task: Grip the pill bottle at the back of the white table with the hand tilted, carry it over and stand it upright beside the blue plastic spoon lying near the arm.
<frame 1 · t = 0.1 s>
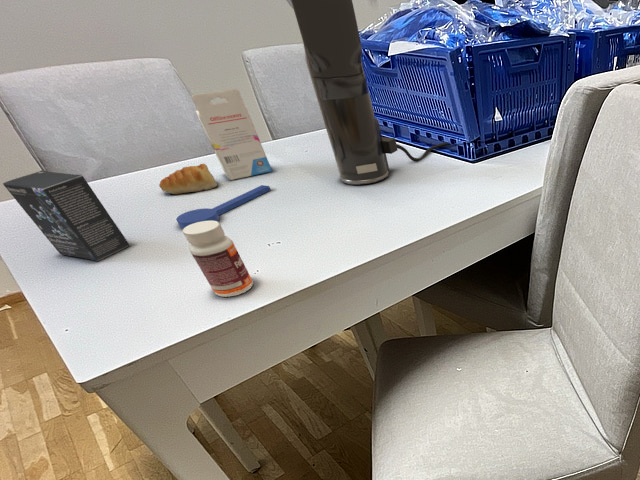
spoon: (227, 209, 80), on the table
pill bottle: (235, 289, 60), on the table
ink box: (249, 174, 94), on the table
box: (97, 251, 69), on the table
pastry: (196, 189, 88), on the table
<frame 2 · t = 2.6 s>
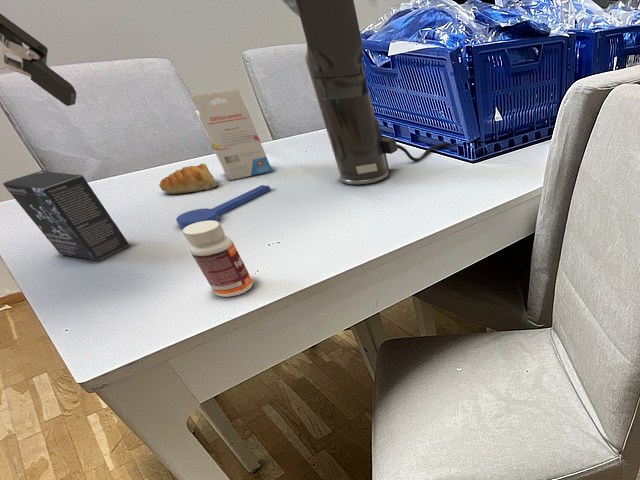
hand: (37, 107, 46), 21 cm above the table, tool tilted 45°, fingers open, 8 cm apart
nothing on the table moved.
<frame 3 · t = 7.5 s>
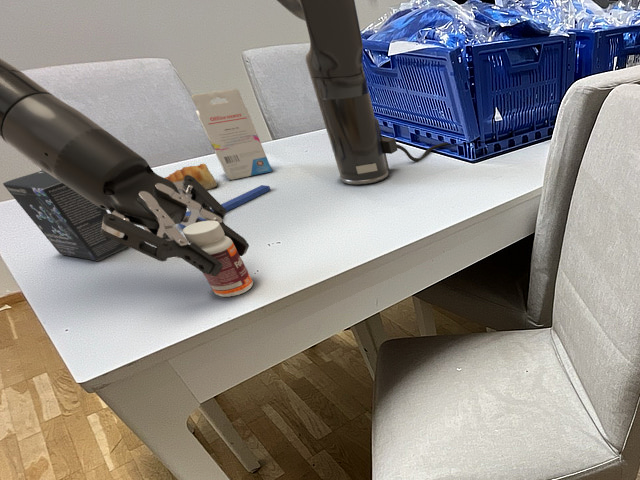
hand: (232, 260, 56), 4 cm above the table, tool tilted 45°, fingers closed on pill bottle, 4 cm apart
pill bottle: (235, 289, 60), on the table, touching gripper
everything else where it was.
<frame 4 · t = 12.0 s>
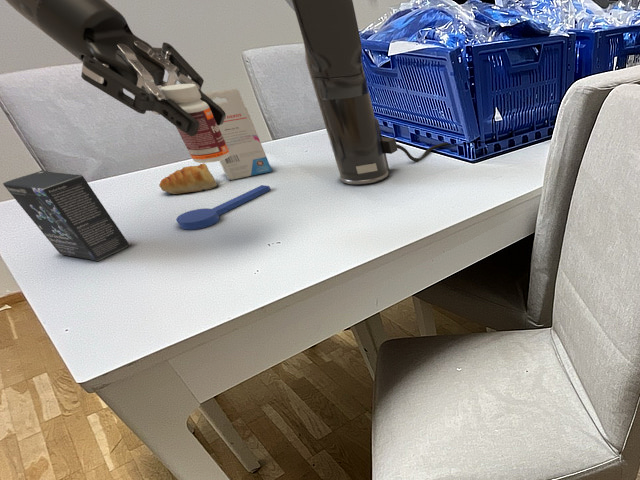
hand: (209, 124, 59), 16 cm above the table, tool tilted 45°, fingers closed on pill bottle, 4 cm apart
pill bottle: (213, 159, 62), point 12 cm above the table, touching gripper
everything else where it was.
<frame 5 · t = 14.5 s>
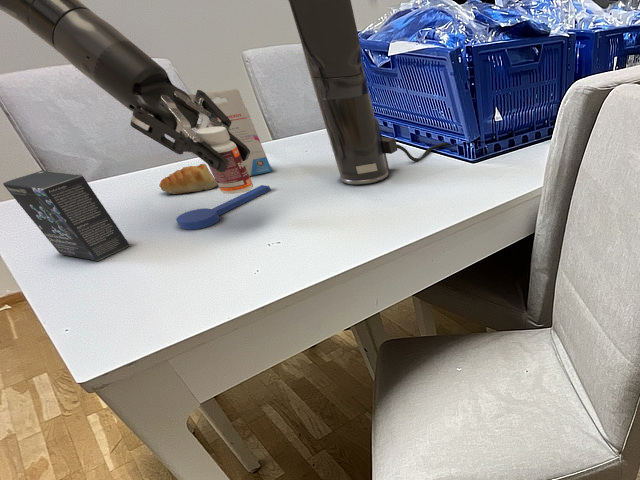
hand: (236, 161, 68), 10 cm above the table, tool tilted 45°, fingers closed on pill bottle, 4 cm apart
pill bottle: (238, 190, 71), point 5 cm above the table, touching gripper
everything else where it was.
when the fingers open (4 cm above the table, at t = 16.5 s): pill bottle stays where it is, on the table.
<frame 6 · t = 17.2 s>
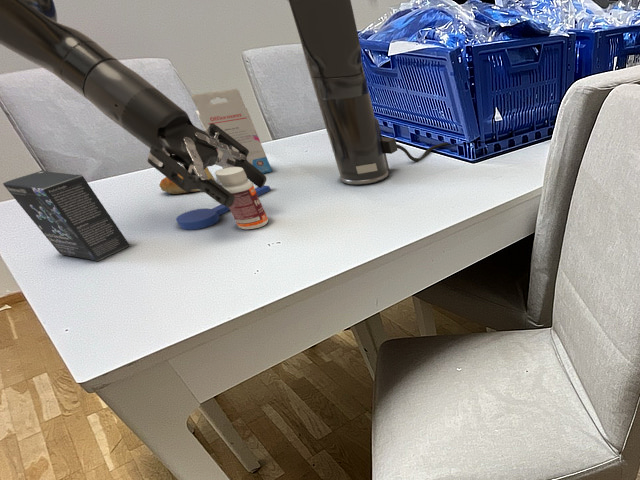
hand: (248, 192, 71), 5 cm above the table, tool tilted 45°, fingers open, 8 cm apart
pill bottle: (254, 225, 75), on the table
everything else where it was.
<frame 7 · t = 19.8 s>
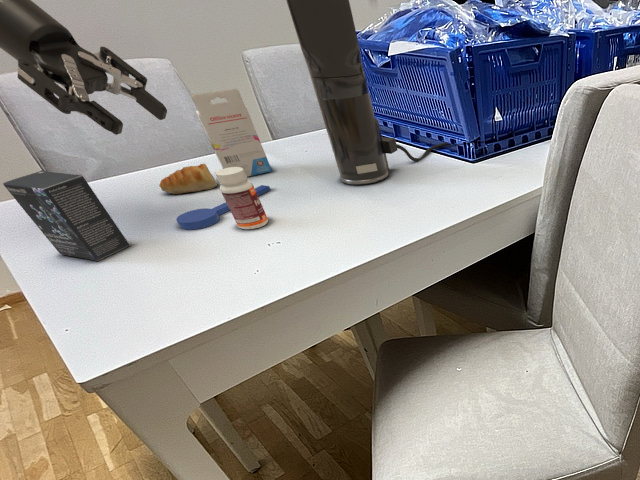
hand: (143, 122, 66), 15 cm above the table, tool tilted 45°, fingers open, 8 cm apart
nothing on the table moved.
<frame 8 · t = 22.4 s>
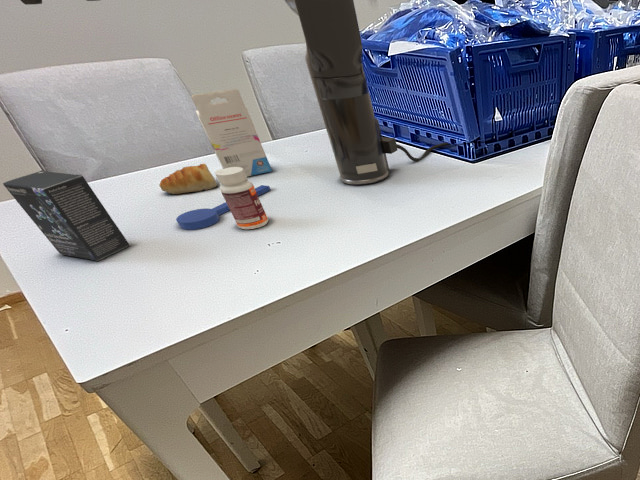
hand: (65, 2, 56), 28 cm above the table, tool pointing down, fingers open, 8 cm apart
nothing on the table moved.
at the end: pill bottle inside the target area on the table beside the spoon (1.0 cm from its centre), on the table; pill bottle tilted 0°; the gripper is holding nothing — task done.
